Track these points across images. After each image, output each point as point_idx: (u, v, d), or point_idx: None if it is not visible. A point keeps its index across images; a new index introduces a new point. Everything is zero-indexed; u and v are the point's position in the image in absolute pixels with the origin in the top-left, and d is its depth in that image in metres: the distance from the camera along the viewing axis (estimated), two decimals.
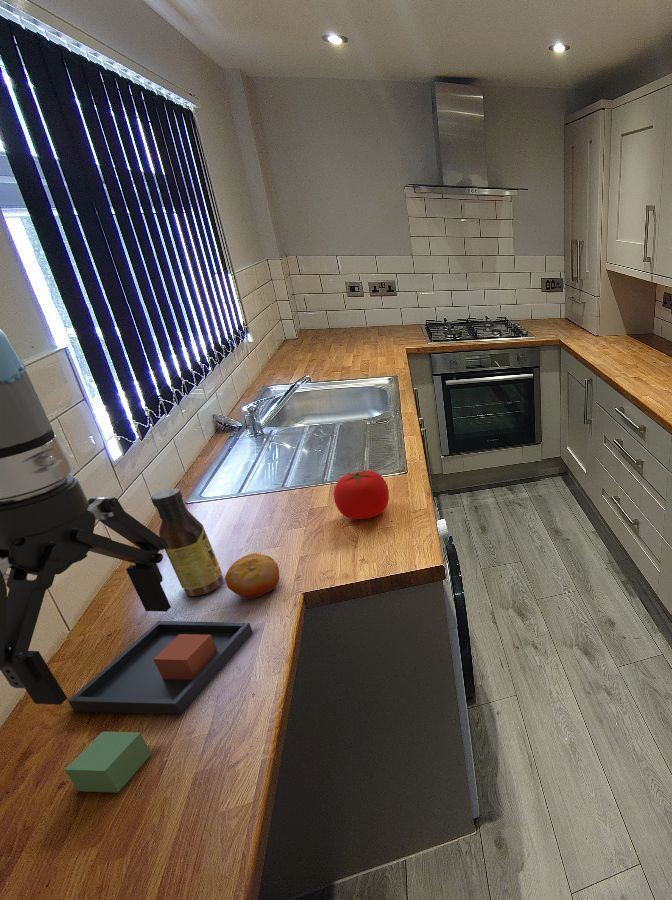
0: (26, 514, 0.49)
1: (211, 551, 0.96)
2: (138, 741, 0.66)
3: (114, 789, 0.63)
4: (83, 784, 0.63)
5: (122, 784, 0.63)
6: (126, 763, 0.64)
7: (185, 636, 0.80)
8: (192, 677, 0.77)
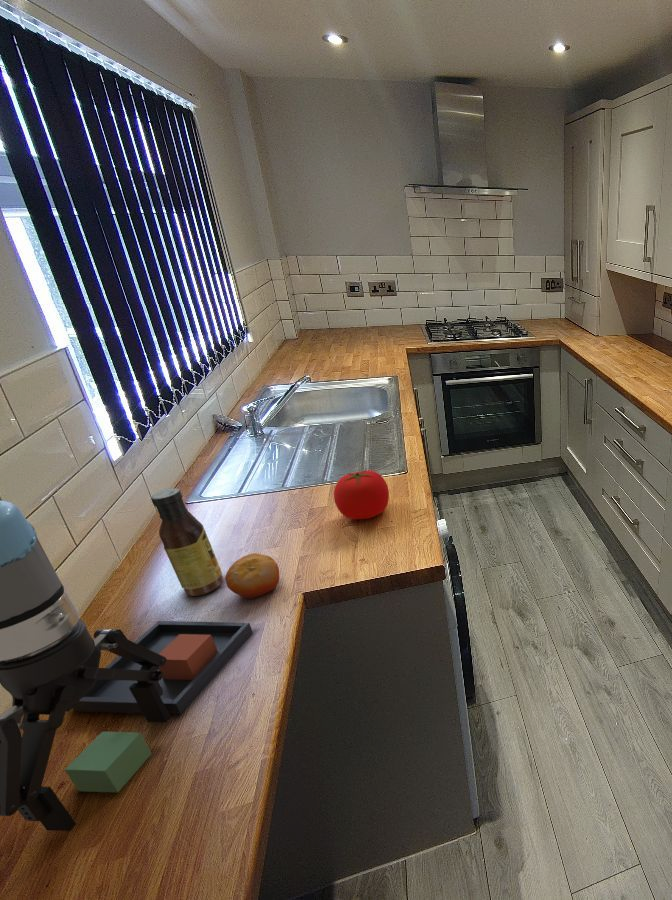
0: (39, 668, 0.54)
1: (211, 551, 0.96)
2: (138, 741, 0.66)
3: (114, 789, 0.63)
4: (83, 784, 0.63)
5: (122, 784, 0.63)
6: (126, 763, 0.64)
7: (185, 636, 0.80)
8: (192, 677, 0.77)
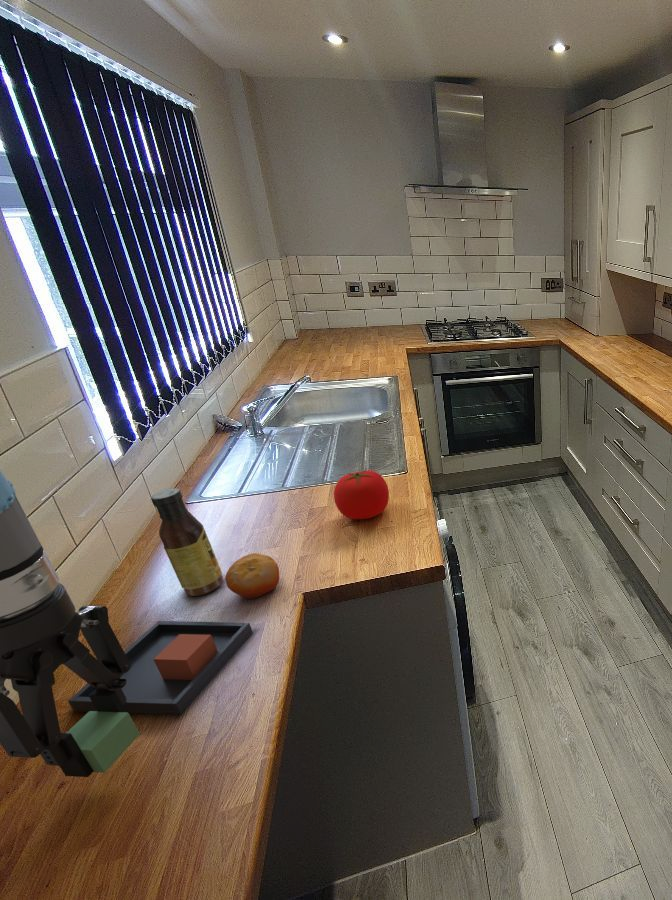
0: (15, 631, 0.52)
1: (211, 551, 0.96)
2: (126, 721, 0.64)
3: (100, 769, 0.61)
4: None
5: (109, 764, 0.62)
6: (113, 743, 0.63)
7: (185, 636, 0.80)
8: (192, 677, 0.77)
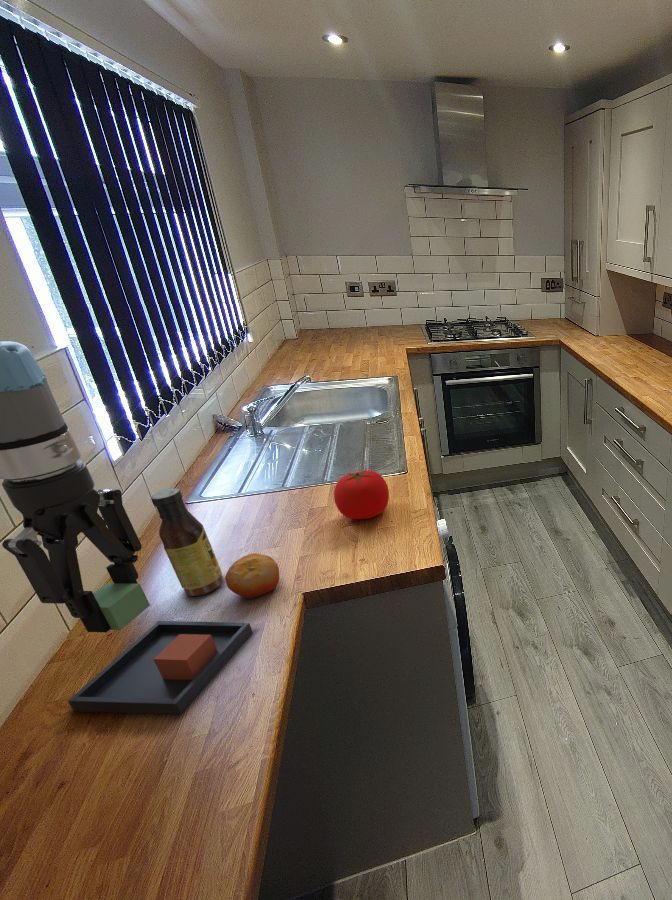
0: (46, 490, 0.63)
1: (211, 551, 0.96)
2: (138, 590, 0.75)
3: (117, 626, 0.72)
4: None
5: (124, 624, 0.73)
6: (127, 607, 0.73)
7: (185, 636, 0.80)
8: (192, 677, 0.77)
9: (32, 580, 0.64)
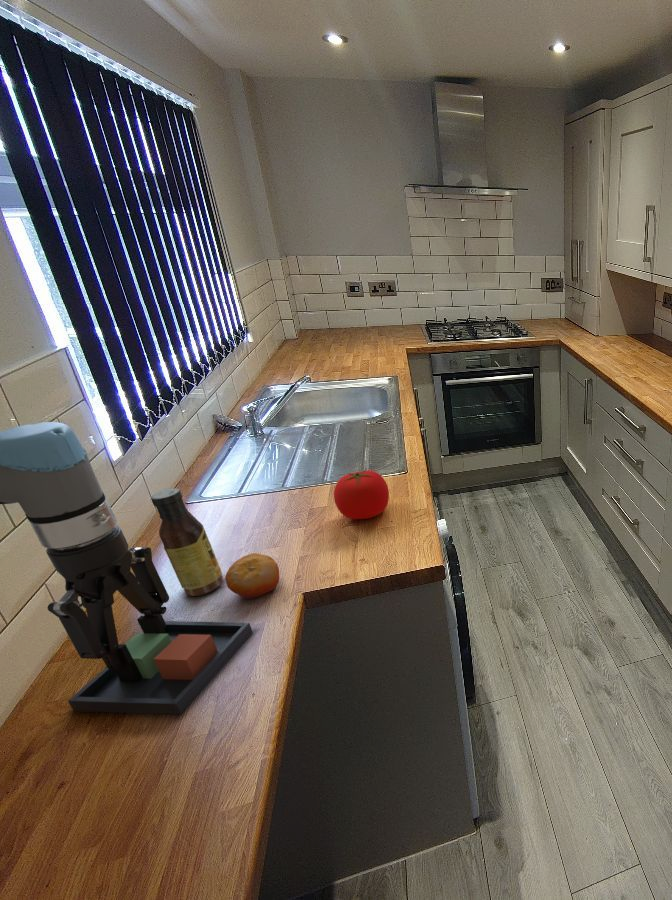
0: (87, 557, 0.68)
1: (211, 551, 0.96)
2: (166, 640, 0.80)
3: (148, 675, 0.77)
4: None
5: (154, 672, 0.78)
6: None
7: (185, 636, 0.80)
8: (192, 677, 0.77)
9: (73, 638, 0.70)
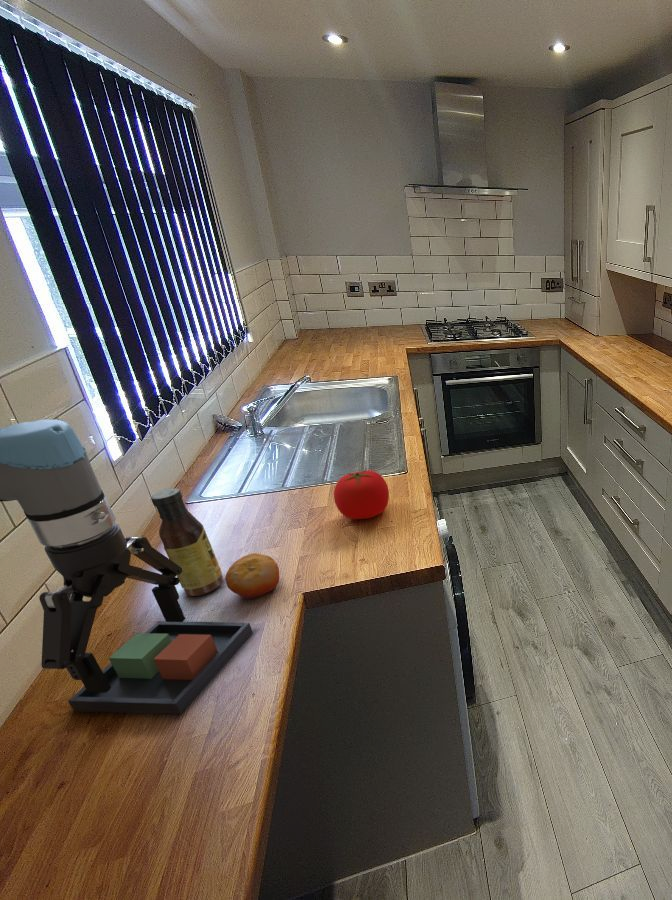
0: (85, 554, 0.68)
1: (211, 551, 0.96)
2: (166, 640, 0.80)
3: (148, 675, 0.77)
4: (123, 671, 0.77)
5: (154, 672, 0.78)
6: None
7: (185, 636, 0.80)
8: (192, 677, 0.77)
9: (46, 639, 0.67)
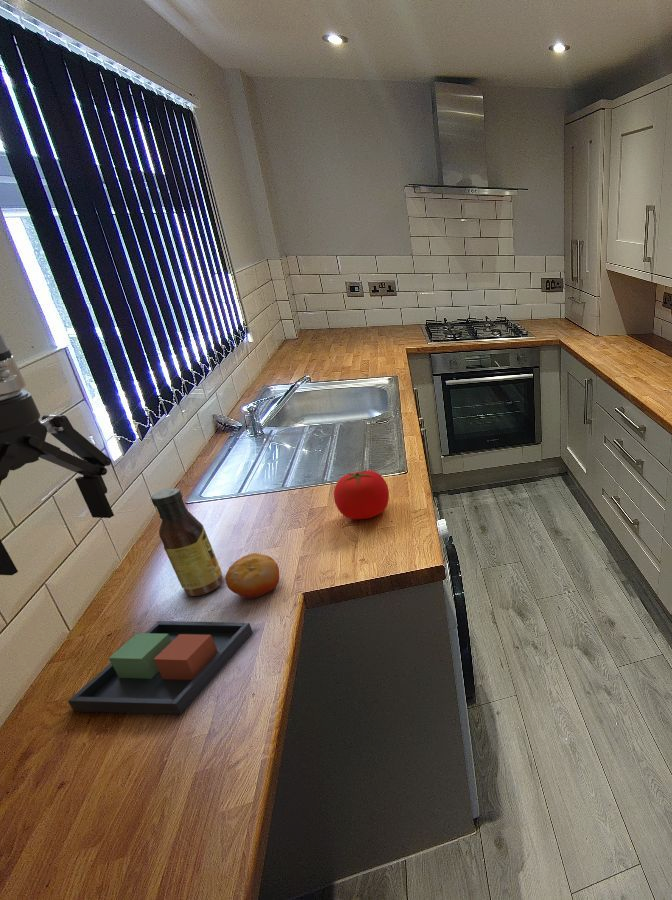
0: None
1: (211, 551, 0.96)
2: (166, 640, 0.80)
3: (148, 675, 0.77)
4: (123, 671, 0.77)
5: (154, 672, 0.78)
6: None
7: (185, 636, 0.80)
8: (192, 677, 0.77)
9: None
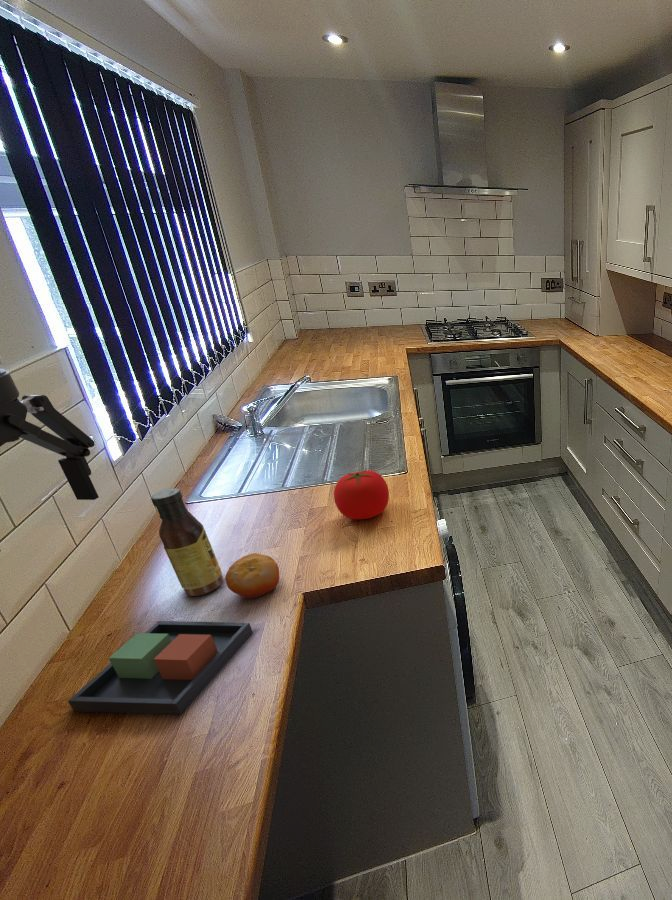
0: None
1: (211, 551, 0.96)
2: (166, 640, 0.80)
3: (148, 675, 0.77)
4: (123, 671, 0.77)
5: (154, 672, 0.78)
6: None
7: (185, 636, 0.80)
8: (192, 677, 0.77)
9: None
